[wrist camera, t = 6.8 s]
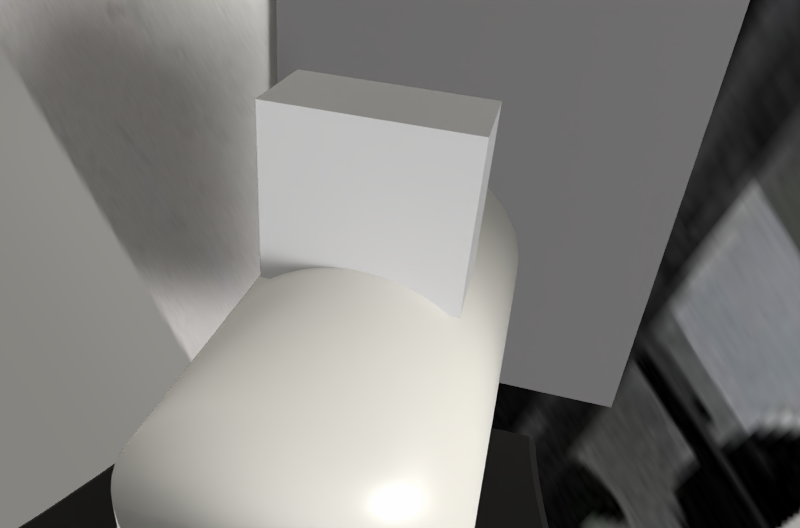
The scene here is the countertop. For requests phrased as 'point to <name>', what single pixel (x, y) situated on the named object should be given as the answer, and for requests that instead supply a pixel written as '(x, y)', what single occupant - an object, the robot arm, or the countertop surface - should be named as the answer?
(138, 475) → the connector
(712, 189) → the countertop surface
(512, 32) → the mat
